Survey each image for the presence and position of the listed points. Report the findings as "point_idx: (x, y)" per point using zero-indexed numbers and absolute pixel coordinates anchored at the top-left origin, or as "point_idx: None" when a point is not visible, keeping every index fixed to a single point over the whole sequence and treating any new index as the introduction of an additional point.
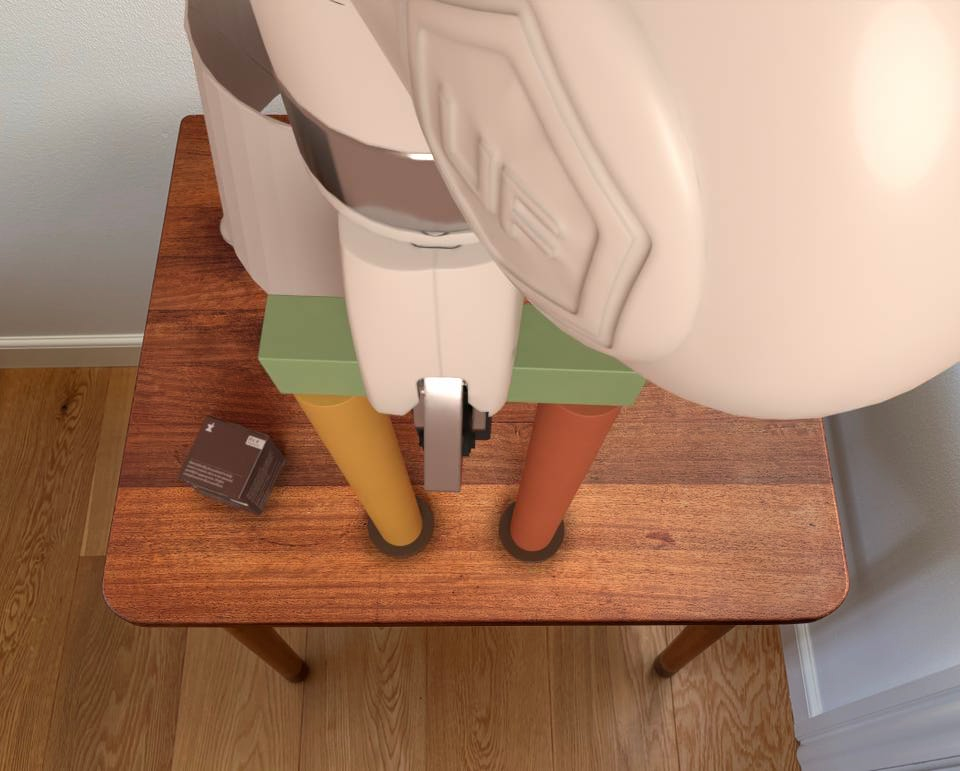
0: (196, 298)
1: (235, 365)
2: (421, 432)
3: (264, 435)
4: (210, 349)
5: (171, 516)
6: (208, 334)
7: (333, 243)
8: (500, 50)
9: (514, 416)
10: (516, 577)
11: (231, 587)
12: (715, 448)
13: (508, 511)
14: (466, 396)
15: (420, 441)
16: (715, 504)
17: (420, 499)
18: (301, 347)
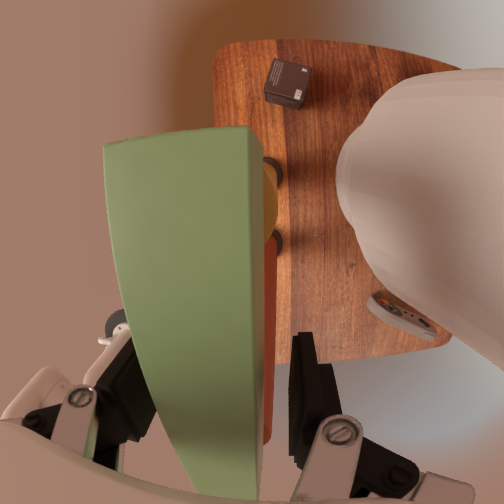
0: (384, 63)
1: (350, 81)
2: (32, 426)
3: (302, 98)
4: (357, 69)
5: (262, 60)
6: (365, 68)
7: (416, 166)
8: None
9: (327, 233)
10: None
11: (227, 94)
12: (307, 327)
13: (274, 232)
14: (115, 441)
15: (31, 417)
16: (281, 325)
17: (278, 184)
18: (131, 226)
